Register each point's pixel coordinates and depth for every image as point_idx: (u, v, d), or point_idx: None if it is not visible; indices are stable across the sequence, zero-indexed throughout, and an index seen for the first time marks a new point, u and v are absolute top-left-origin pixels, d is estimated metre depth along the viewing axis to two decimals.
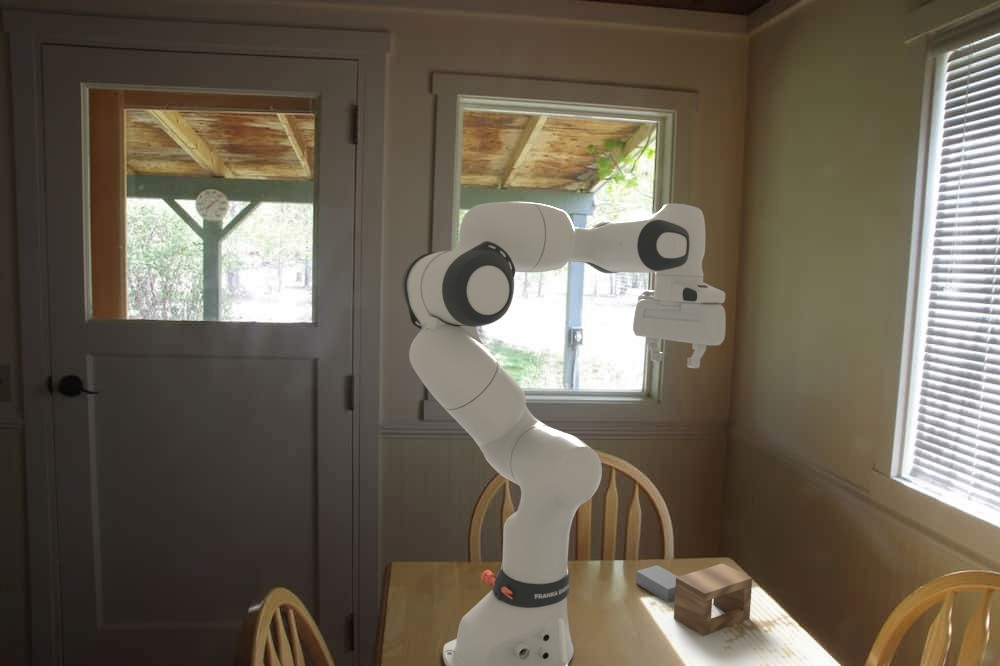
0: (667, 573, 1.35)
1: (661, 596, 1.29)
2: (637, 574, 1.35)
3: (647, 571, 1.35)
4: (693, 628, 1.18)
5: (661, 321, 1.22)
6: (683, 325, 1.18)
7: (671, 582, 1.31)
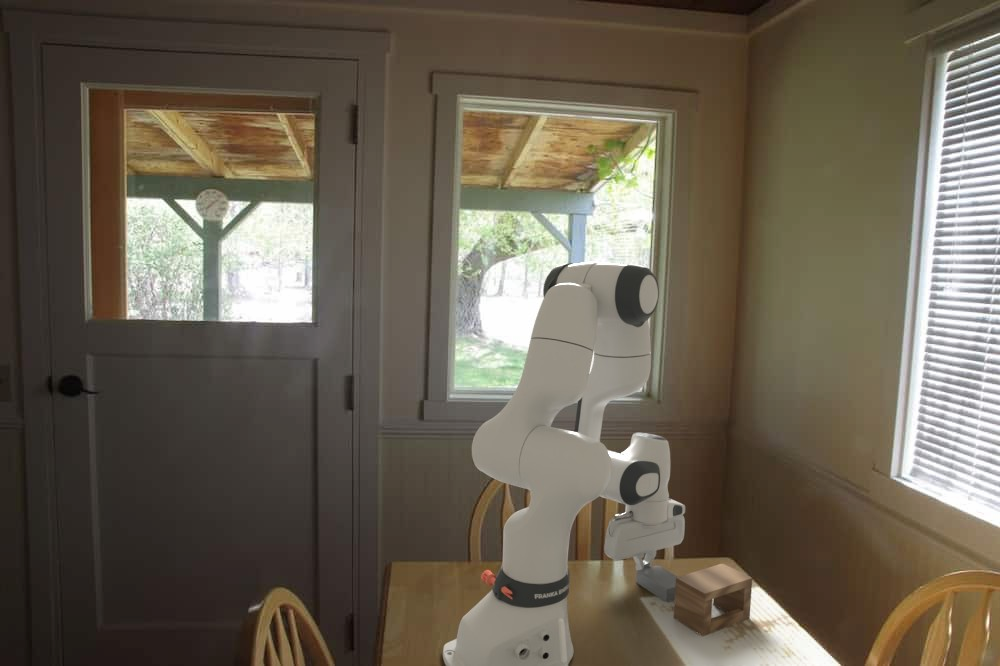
0: (667, 573, 1.34)
1: (660, 596, 1.29)
2: (637, 574, 1.35)
3: (647, 571, 1.35)
4: (693, 628, 1.18)
5: (644, 539, 1.35)
6: (663, 535, 1.37)
7: (671, 582, 1.31)
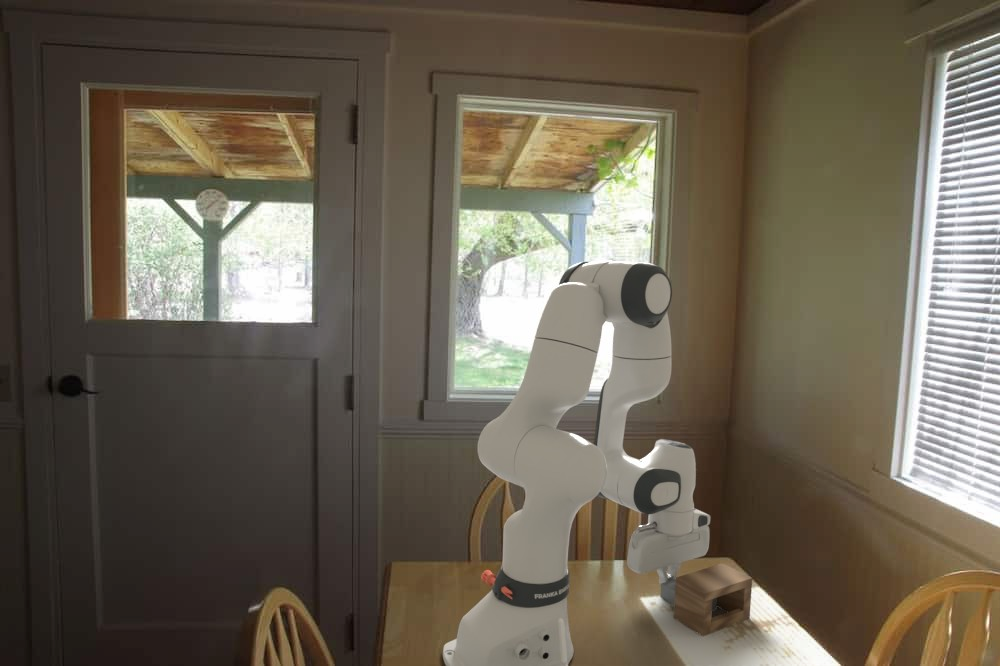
0: None
1: None
2: (662, 587, 1.30)
3: (672, 584, 1.30)
4: (693, 628, 1.18)
5: (668, 551, 1.29)
6: (687, 547, 1.32)
7: None
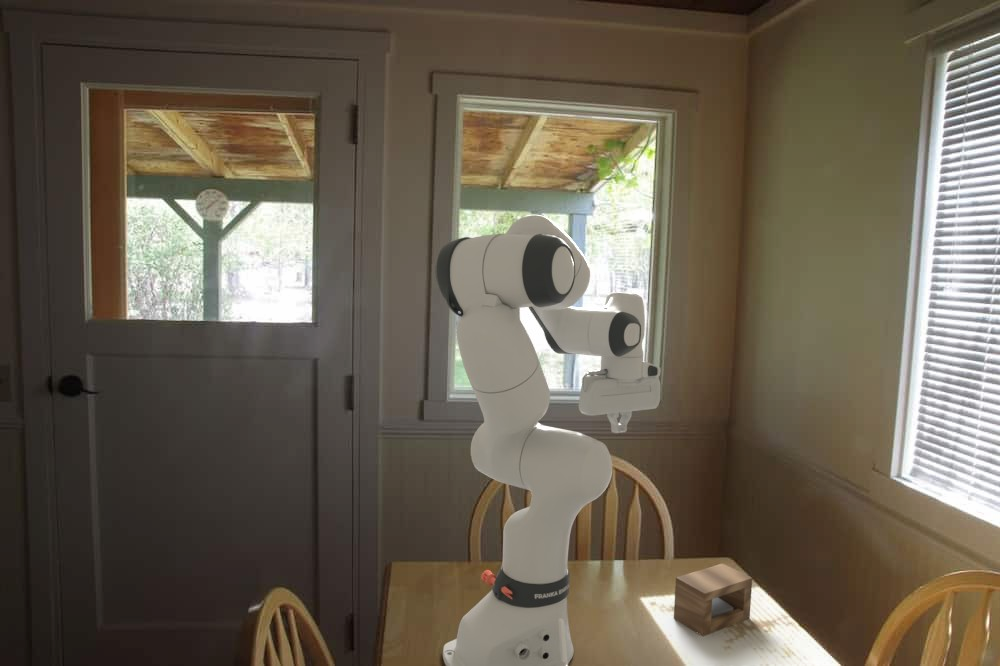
0: None
1: None
2: None
3: None
4: (693, 628, 1.18)
5: (619, 397, 1.35)
6: (638, 397, 1.38)
7: (714, 605, 1.22)
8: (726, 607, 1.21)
